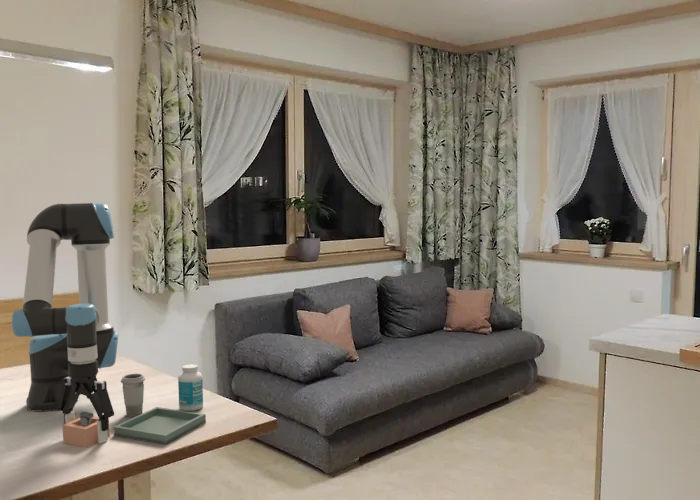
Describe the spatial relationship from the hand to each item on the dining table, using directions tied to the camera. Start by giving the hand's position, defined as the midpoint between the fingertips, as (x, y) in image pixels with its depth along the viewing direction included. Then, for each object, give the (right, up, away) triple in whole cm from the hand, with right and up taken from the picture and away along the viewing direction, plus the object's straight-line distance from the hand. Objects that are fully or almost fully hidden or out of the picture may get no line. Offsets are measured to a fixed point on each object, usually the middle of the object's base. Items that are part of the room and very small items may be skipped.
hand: (86, 438), depth 177 cm
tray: (+18, +1, +7) cm, 20 cm away
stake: (0, 0, 0) cm, 0 cm away
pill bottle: (+23, +2, +25) cm, 34 cm away
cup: (+6, +2, +20) cm, 21 cm away
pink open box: (0, 0, 0) cm, 0 cm away
